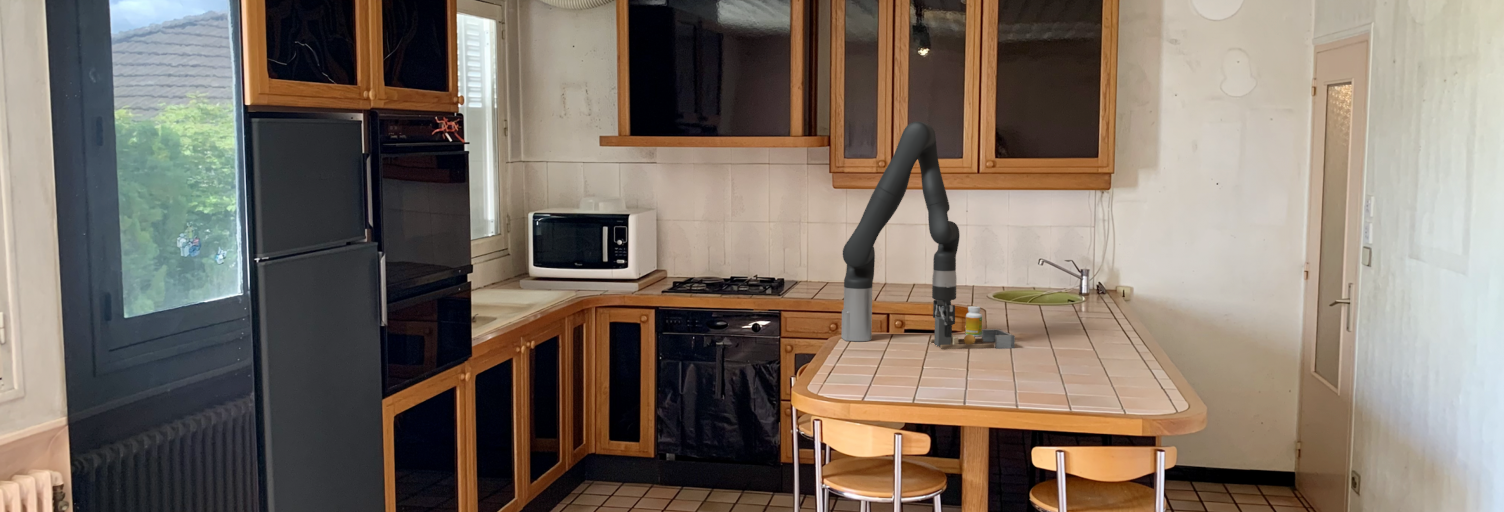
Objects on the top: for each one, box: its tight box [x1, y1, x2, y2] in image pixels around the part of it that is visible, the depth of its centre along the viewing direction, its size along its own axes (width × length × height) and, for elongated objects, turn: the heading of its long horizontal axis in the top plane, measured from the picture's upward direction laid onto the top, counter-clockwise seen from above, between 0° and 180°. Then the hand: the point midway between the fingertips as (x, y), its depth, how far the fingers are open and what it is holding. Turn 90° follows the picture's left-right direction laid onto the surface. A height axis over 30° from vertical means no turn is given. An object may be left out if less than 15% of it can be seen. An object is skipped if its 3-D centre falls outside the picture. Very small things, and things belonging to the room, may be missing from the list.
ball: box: [963, 334, 976, 344], centre depth 370 cm, size 4×4×4 cm
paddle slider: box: [933, 317, 959, 347], centre depth 368 cm, size 6×7×9 cm
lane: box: [929, 337, 995, 350], centre depth 369 cm, size 17×11×1 cm, turn 99°
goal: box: [981, 328, 1016, 350], centre depth 371 cm, size 6×13×4 cm, turn 9°
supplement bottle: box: [964, 305, 983, 338], centre depth 388 cm, size 5×5×10 cm
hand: (943, 334), depth 368 cm, fingers open, 8 cm apart
